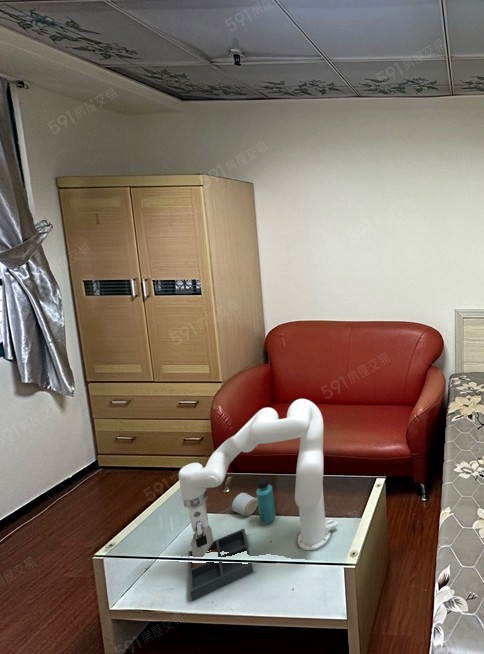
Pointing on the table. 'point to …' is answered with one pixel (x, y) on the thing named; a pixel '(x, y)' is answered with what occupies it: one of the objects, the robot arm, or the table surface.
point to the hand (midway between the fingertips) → (201, 537)
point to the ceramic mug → (244, 504)
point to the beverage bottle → (265, 501)
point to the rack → (219, 566)
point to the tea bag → (203, 549)
